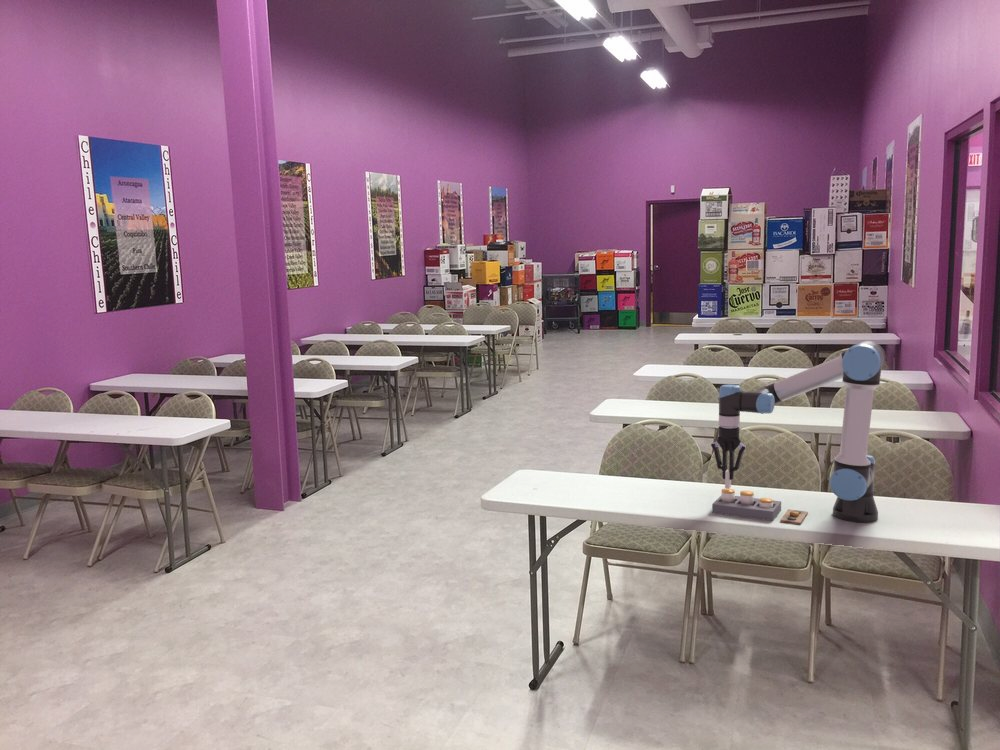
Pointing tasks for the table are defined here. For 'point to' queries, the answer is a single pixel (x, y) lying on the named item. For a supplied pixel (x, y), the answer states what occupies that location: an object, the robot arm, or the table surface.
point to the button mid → (747, 498)
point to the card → (794, 516)
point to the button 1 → (728, 495)
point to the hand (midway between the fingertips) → (727, 487)
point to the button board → (746, 509)
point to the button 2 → (766, 502)
